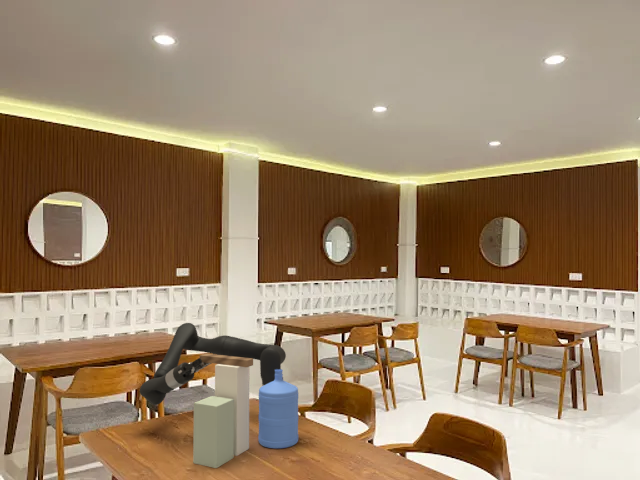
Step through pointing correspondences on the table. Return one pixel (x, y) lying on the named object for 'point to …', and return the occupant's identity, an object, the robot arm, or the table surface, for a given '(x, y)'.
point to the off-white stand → (235, 400)
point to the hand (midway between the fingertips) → (208, 358)
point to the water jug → (278, 413)
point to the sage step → (213, 431)
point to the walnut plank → (227, 360)
